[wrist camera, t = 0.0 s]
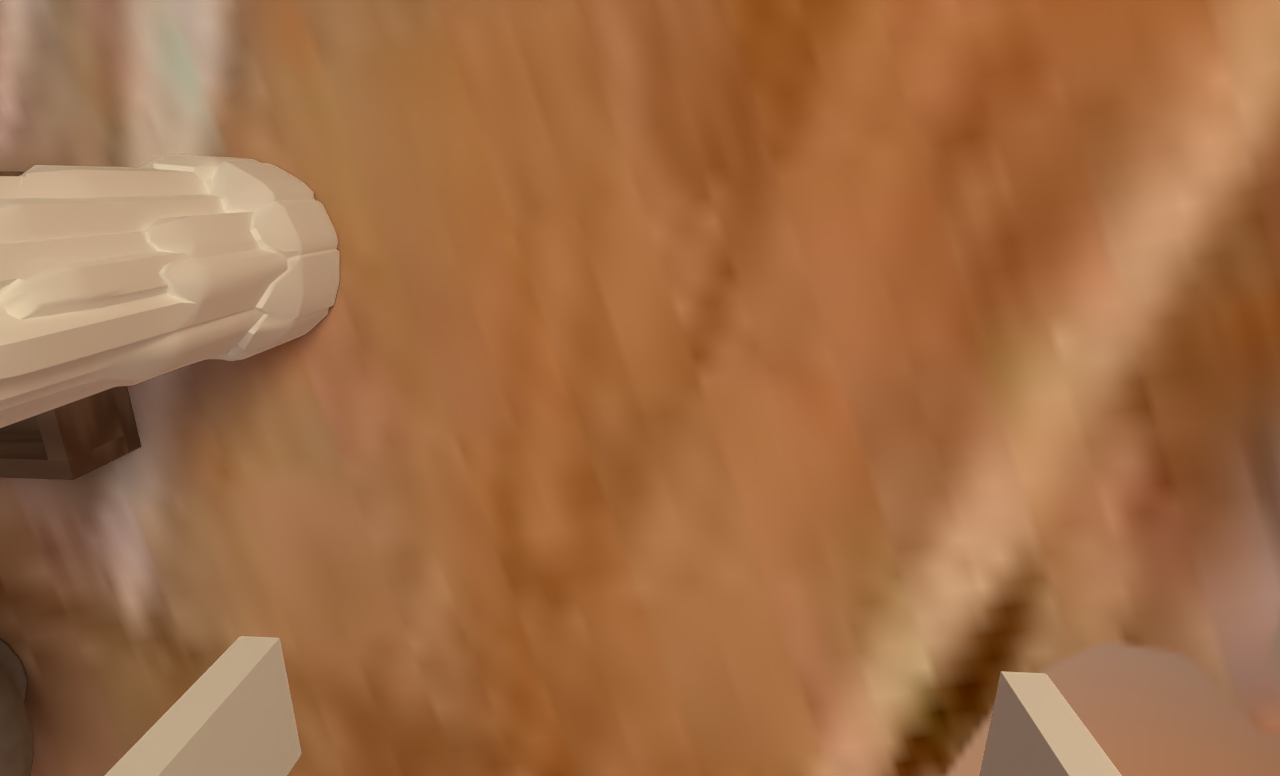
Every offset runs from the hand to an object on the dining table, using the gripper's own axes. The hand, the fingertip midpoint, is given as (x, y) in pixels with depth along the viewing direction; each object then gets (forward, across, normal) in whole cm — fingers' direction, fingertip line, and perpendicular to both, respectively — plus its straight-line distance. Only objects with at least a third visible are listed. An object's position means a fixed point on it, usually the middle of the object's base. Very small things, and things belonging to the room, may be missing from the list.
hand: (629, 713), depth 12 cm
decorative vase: (+28, -24, +5) cm, 38 cm away
